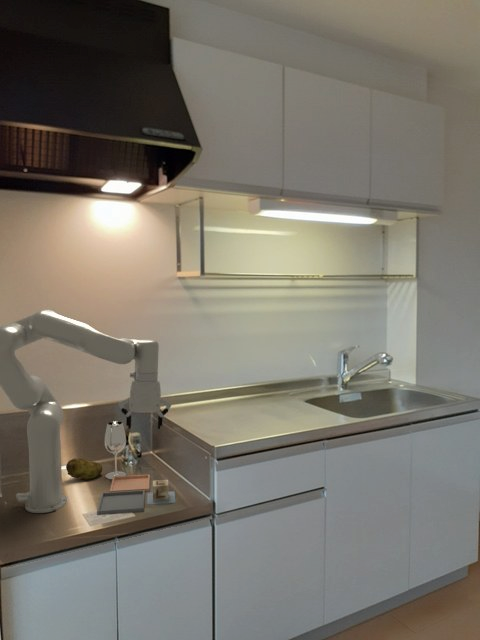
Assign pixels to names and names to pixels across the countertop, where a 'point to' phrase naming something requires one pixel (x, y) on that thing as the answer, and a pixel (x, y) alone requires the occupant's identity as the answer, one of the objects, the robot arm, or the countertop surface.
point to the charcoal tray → (121, 502)
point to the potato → (83, 468)
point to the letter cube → (160, 490)
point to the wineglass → (115, 443)
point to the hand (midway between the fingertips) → (144, 428)
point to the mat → (171, 500)
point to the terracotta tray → (130, 483)
